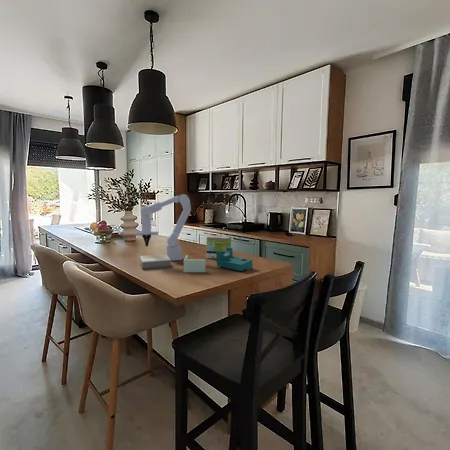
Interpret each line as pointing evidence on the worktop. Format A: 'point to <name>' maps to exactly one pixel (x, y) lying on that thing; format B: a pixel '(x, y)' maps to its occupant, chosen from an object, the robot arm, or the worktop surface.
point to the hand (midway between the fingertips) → (146, 246)
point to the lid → (154, 258)
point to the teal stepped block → (232, 261)
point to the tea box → (217, 245)
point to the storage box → (154, 264)
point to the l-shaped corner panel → (194, 265)
